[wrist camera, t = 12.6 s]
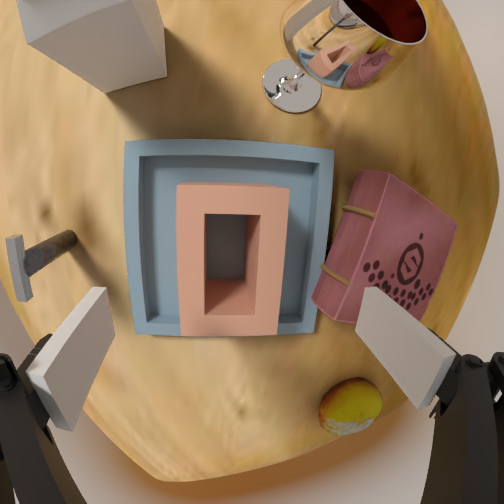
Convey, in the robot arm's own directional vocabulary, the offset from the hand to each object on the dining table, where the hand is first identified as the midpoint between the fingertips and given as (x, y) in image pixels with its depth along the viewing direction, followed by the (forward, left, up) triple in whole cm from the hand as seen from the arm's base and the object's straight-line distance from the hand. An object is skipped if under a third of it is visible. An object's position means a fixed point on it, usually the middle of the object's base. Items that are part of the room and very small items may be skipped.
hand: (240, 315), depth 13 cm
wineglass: (-17, +6, -16) cm, 24 cm away
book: (+1, +17, -15) cm, 23 cm away
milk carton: (-20, -11, -16) cm, 28 cm away
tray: (0, 0, -16) cm, 16 cm away
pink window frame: (0, 0, -16) cm, 16 cm away
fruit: (+26, +19, -17) cm, 36 cm away
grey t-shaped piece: (0, -18, -16) cm, 24 cm away
